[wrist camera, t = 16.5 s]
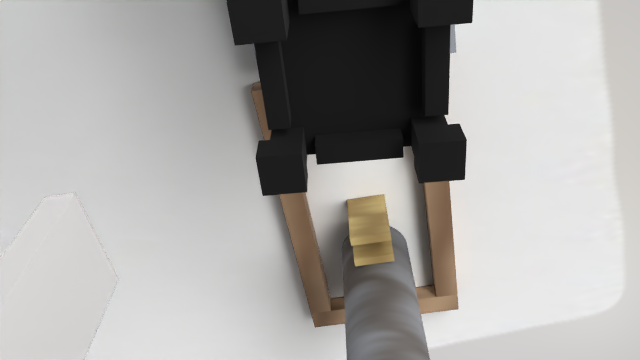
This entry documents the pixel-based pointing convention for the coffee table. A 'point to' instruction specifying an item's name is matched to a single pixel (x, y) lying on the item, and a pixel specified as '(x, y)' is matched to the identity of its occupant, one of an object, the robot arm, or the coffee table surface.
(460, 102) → the coffee table surface
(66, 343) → the robot arm
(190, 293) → the coffee table surface
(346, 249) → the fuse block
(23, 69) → the coffee table surface
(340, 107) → the chess piece
